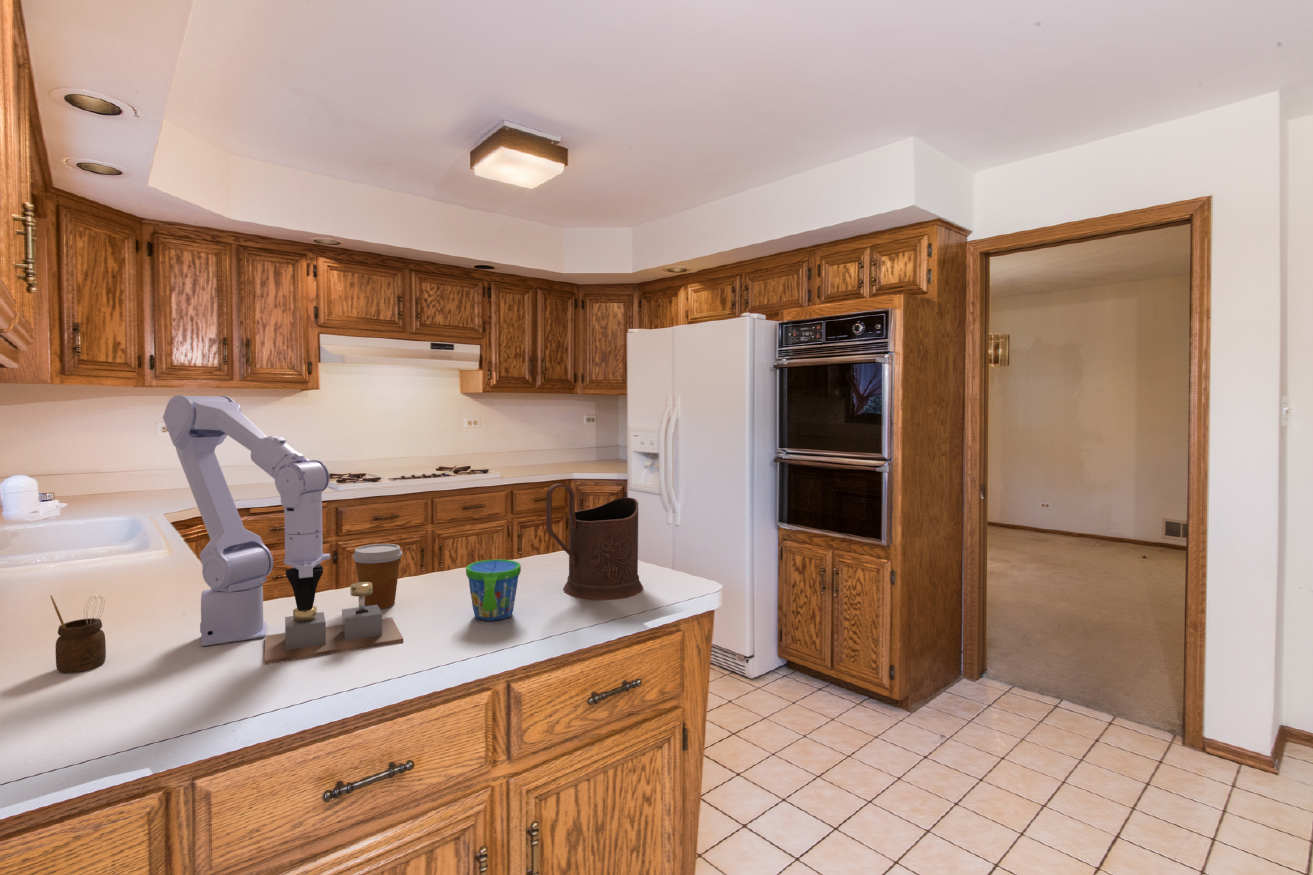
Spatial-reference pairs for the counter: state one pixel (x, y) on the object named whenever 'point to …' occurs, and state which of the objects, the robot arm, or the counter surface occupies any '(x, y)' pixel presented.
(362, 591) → the brass round knob
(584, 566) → the cup holder
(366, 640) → the walnut board
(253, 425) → the robot arm
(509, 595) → the snack cup
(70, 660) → the utensil holder
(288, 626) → the twin gray blocks
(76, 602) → the counter surface
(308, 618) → the left plunger
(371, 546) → the disposable coffee cup
